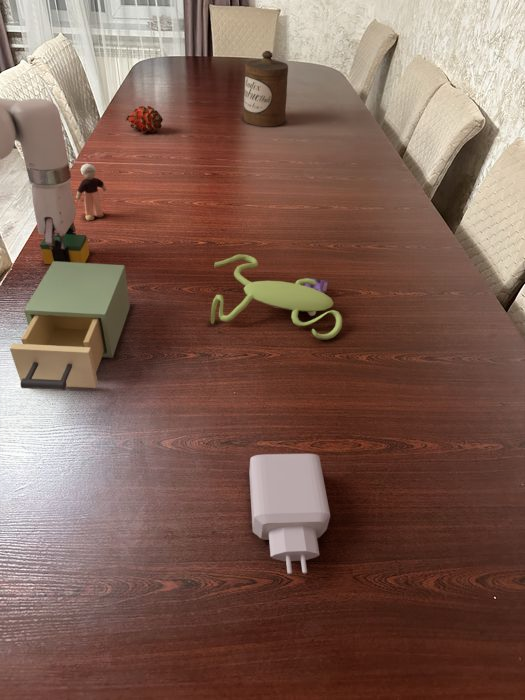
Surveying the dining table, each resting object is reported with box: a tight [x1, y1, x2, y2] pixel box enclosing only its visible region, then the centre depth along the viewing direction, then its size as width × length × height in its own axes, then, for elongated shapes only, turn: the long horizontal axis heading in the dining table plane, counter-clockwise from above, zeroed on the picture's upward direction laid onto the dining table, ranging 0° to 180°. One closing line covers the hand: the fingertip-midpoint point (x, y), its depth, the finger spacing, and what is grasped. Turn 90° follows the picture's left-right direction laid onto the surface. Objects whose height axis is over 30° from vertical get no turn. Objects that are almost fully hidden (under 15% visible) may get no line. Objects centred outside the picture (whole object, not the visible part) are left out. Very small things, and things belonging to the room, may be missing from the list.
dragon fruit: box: [125, 105, 164, 134], centre depth 169 cm, size 8×8×12 cm
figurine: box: [210, 253, 343, 341], centre depth 100 cm, size 18×27×6 cm
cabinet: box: [23, 261, 131, 359], centre depth 90 cm, size 15×13×9 cm
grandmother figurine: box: [75, 162, 107, 221], centre depth 121 cm, size 8×4×13 cm, turn 147°
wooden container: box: [243, 50, 289, 127], centre depth 181 cm, size 15×15×22 cm
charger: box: [248, 453, 331, 575], centre depth 64 cm, size 5×9×15 cm
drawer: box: [9, 315, 106, 391], centre depth 81 cm, size 18×11×7 cm, turn 0°
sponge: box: [39, 234, 90, 265], centre depth 108 cm, size 8×5×4 cm, turn 90°
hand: (66, 256), depth 109 cm, fingers closed on sponge, 5 cm apart
